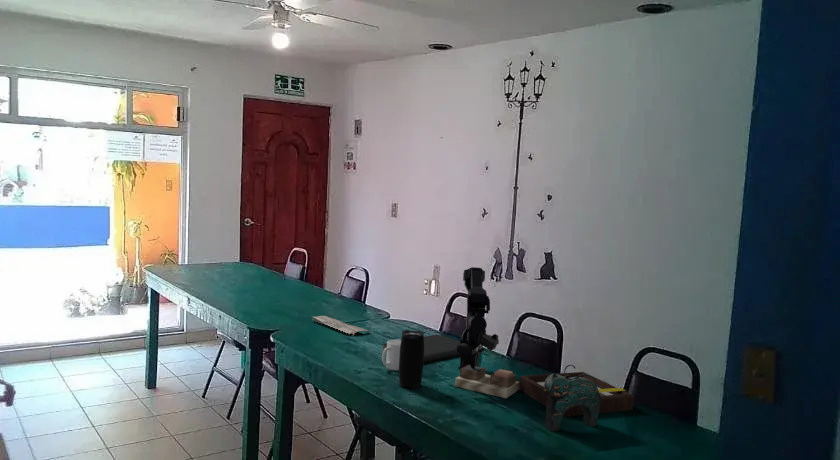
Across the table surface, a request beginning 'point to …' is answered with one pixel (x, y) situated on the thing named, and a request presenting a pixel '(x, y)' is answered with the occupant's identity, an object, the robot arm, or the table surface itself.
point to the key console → (487, 383)
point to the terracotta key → (503, 373)
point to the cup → (392, 355)
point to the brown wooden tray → (610, 402)
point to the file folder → (437, 348)
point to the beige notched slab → (338, 324)
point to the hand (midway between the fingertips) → (473, 368)
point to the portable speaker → (411, 359)
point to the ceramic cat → (571, 399)
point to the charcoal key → (473, 369)
